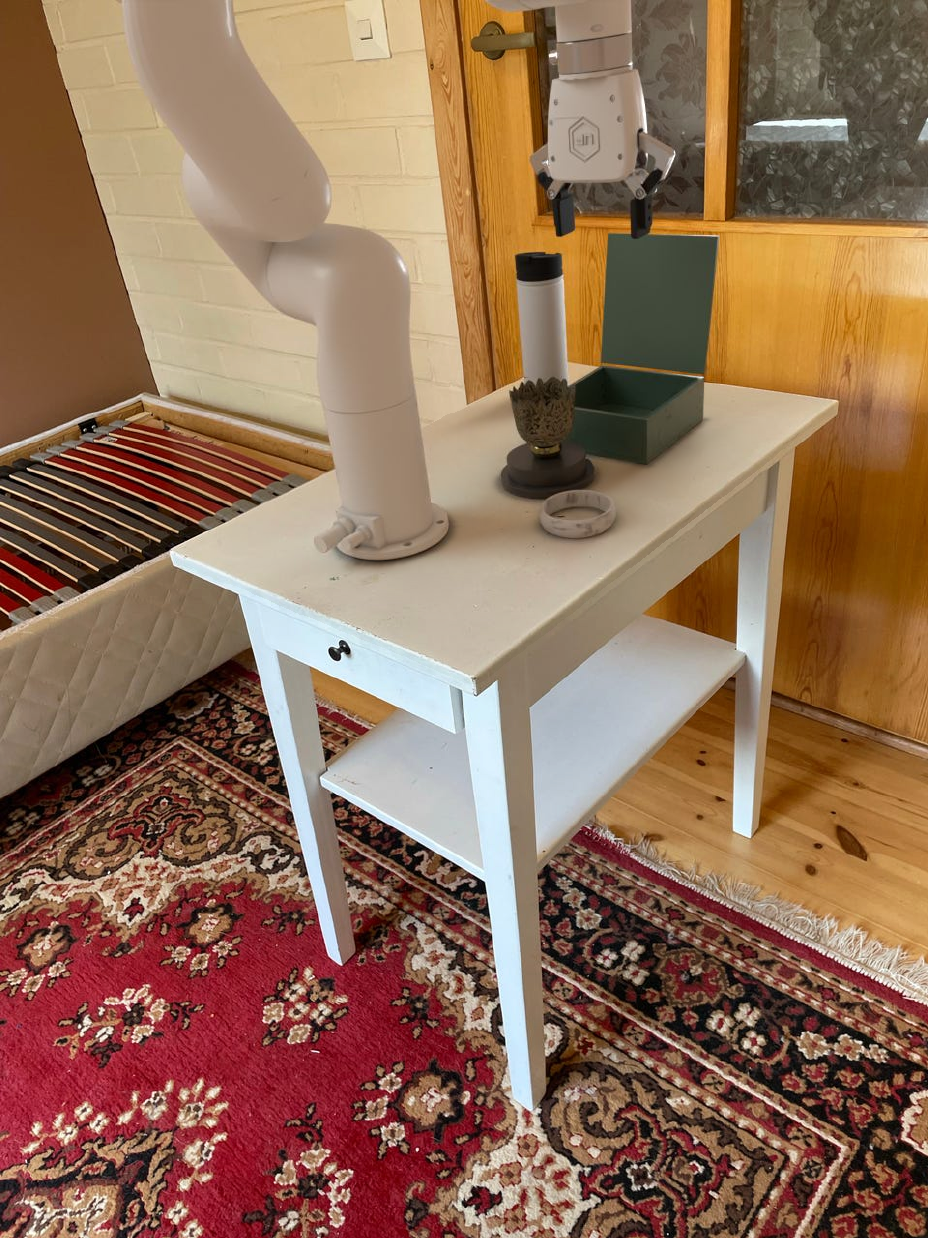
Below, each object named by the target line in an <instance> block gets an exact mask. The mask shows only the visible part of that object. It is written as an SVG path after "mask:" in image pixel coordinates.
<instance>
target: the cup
mask: <svg viewBox="0 0 928 1238" xmlns="http://www.w3.org/2000/svg"><path fill="white" fill-rule="evenodd" d="M544 383H545V384H544ZM544 383H543V381H542V379H540V378H538V380H537V383H536V385H535V384H534V383H533V382H532V381H530V380H528V381H527V382H526V383H525V384H524V381H521V382H520V384H519V387H518V389H517V388H516V386H515V385H513V387H512V390H510V389H509V390H508V394H509V395H508V396H509V399H510V404H511V409H512V414H513V418H514V423H515V426H516V430H517V433H518V434H519V436H520V438H521V439H522V440H523V441H524V442H525V443H528V444H530V445H531V447H530V450H531V453H532V454H533V455H534V456H535V457H537V458H542V459H547V458H553V457H555V456H557V455H559V454H560V452H561V450H562V444H561V442H562V441H564V440H565V439H566V438H567V437H568V435H569V434H570V432H571V429H572V425H573V419H574V407H575V391H576V387H575V383H574V382H573V383H574V384H573V383H571V384H572V389H571V387H569V386H568V385H567V380H566V379H563V380H562V381H561V382H560V380H559V379H557V378H555V377H551V378H550V379H549V380H548V381H547V382H544ZM535 386H536V387H535Z"/></svg>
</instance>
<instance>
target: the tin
mask: <svg viewBox="0 0 928 1238" xmlns="http://www.w3.org/2000/svg"><path fill="white" fill-rule="evenodd" d="M574 383H575V387H576V391H575V407H574V419H573V425H572V429H571V432H570V434H569V435H568V437H567V438H566V439H565V440H567V441H572V442H575V443H578V444H580V445H581V446H582V447H583V448H584V449H585V451H586V455H592V456H596V457H601V458H602V457H603V458H607V459H608V458H609V459H612V460H613V459H614V460H619V461H625V462H629V463H636V464H641V465H648V464H650V463H651V462H652V461H654V460H655V459H656V458H657V457H658V456H660V455H661V454H662V453H663V452H665V451H666V450H667V449H668V448H670V447H671V446H672V445H673V444H675V443H676V442H677V441H678V440H680V439H681V438H682V437H683V436H685V435H686V434H687V433H688V432H689V431H691V430H692V429H693V428H695V427H696V426H697V425H698V424H700V423H701V422H702V421H703V420H704V401H705V377H704V376H697V375H688V374H680V373H673V372H663V371H655V370H646V369H637V368H629V367H620V366H612V365H603V364H602V365H600V366H597V368H595V369H593V370H592V371H590V372H588V373H587V374H585V375H584V376H582V377H580V378H579V379H577V380H575V381H574V382H573V383H571V384H569V387H571V389H572V384H574Z"/></svg>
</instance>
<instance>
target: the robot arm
mask: <svg viewBox="0 0 928 1238" xmlns="http://www.w3.org/2000/svg"><path fill="white" fill-rule="evenodd" d="M115 1H116V2H118V3H120V4H121V10H122V11H121V12H122V21H123V29H124V36H125V41H126V46H127V51H128V54H129V59H130V62H131V65H132V68H133V72H134V74H135V77H136V78H137V81H138V83H139V85H140V87H141V89H142V91H143V93H144V94H145V96H146V98H147V100H148V102H149V103H150V104H151V106H152V107H153V108H154V110H155V112H156V114H158V116H159V117H160V119H161V120H162V122H163V123H164V124H165V125H166V127H167V128H168V130H169V131H170V132H171V133H172V135H173V136H174V138H175V139H176V141H177V142H178V143H179V145H180V146H181V147H182V149H183V150H184V152H185V153H184V154H183V155H184V156H183V160H182V165H181V180H182V188H183V191H184V194H185V198H186V200H187V203H188V205H189V207H190V209H191V211H192V213H193V214H194V216H195V218H196V219H197V221H198V222H199V224H200V225H201V226H202V227H203V229H204V230H205V231H206V233H207V234H208V235H209V236H210V237H211V238H212V240H213V241H214V242H215V244H217V245H218V247H219V248H220V249H221V251H222V252H223V253H224V254H225V255H226V256H227V257H228V259H230V261H231V262H232V264H234V265H235V266H236V268H237V269H238V270H239V271H240V272H241V274H242V275H243V276H244V278H246V279H247V281H248V282H249V283H250V284H251V286H253V288H254V289H255V290H256V291H257V292H258V293H259V294H260V296H262V297H263V298H264V300H266V301H267V302H268V303H269V305H271V306H272V307H273V308H274V309H276V310H277V311H278V312H280V313H282V315H284V316H285V315H286V316H287V317H289V318H292V319H295V320H297V321H301V322H304V323H306V324H311V325H312V326H314V327H316V328H317V334H318V335H317V337H318V338H317V339H318V340H317V353H316V380H317V387H318V393H319V397H320V402H321V403H320V404H321V406H322V410H323V411H322V412H323V415H324V421H325V425H326V431H327V436H328V440H329V446H330V451H331V456H332V461H333V466H334V471H335V476H336V481H337V486H338V491H339V496H340V501H341V505H342V506H339V507H338V508H336V509H335V514H336V520H335V521H334V522H333V524H332V527H330V528H328V529H326V530H324V531H322V532H321V533H320V534H319V533H318V534H317V535H316V536H315V537H313V544H314V547H315V548H316V550H317V551H318V552H319V553H322V554H325V553H328V552H329V551H331V550H332V549H334V548H335V547H337V549H338V550H339V551H340V552H341V553H343V554H344V555H347V556H349V557H351V558H356V559H359V560H365V561H385V560H386V561H387V560H395V559H402V558H406V557H409V556H410V557H411V556H413V555H416V554H419V553H421V552H424V551H426V550H428V549H429V548H432V547H433V546H435V545H437V543H439V542H440V541H441V540H442V539H443V538H444V537H445V536H446V534H447V533H448V532H449V527H450V523H449V516H448V514H447V512H446V510H444V508H442V507H441V506H440V505H438V504H436V503H433V502H432V498H431V497H432V496H431V489H430V483H429V477H428V469H427V463H426V454H425V447H424V440H423V434H422V427H421V419H420V413H419V405H418V399H417V392H416V387H415V386H416V385H415V380H414V379H415V378H414V371H413V363H412V353H411V342H410V339H411V338H410V320H411V319H410V318H411V317H410V316H411V280H410V274H409V270H408V267H407V266H406V262H405V260H404V259H403V256H402V255H401V253H400V252H399V251H398V249H397V248H396V247H395V246H394V245H393V244H392V242H390V241H389V240H388V239H386V238H385V237H384V236H383V235H380V234H378V233H376V232H374V231H372V230H369V229H366V228H362V227H359V226H353V225H346V224H339V223H329V222H328V223H327V222H325V221H326V220H327V218H328V216H329V214H330V210H331V207H332V188H331V183H330V178H329V175H328V173H327V171H326V169H325V167H324V164H323V163H322V161H321V160H320V158H319V156H318V155H317V153H316V151H315V150H314V148H313V147H312V146H311V144H310V143H309V142H308V140H307V139H306V138H305V136H304V135H303V133H302V132H301V131H300V129H299V128H298V127H297V125H296V123H294V121H293V120H292V118H291V117H290V115H289V114H288V113H287V111H286V110H285V109H284V107H283V106H282V104H281V103H280V101H279V100H278V99H277V97H276V96H275V95H274V93H273V92H272V91H271V89H270V87H269V86H268V85H267V82H265V81H264V79H263V77H262V75H261V74H260V72H259V71H258V69H257V68H256V66H255V64H254V63H253V62H252V60H251V58H250V56H249V54H248V52H247V51H246V49H245V47H244V45H243V42H242V39H241V38H240V34H239V31H238V27H237V23H236V18H235V12H234V0H115ZM484 2H486V3H487V4H488V5H490V6H492V7H494V8H496V9H498V10H500V11H503V12H512V13H514V12H516V13H517V12H526V11H527V12H528V11H535V10H540V9H544V8H545V9H546V8H552V7H554V13H555V14H554V15H555V30H556V31H555V32H556V42H557V43H556V44H555V45H556V47H555V49H552V50H550V51H549V53H548V61H549V64H550V65H551V66H555V65H556V66H557V73H558V77H557V78H554V79H552V80H551V86H550V93H549V103H548V115H547V116H548V119H547V143H545V144H544V145H543V146H542V147H540V148H539V149H537V150H536V151H535V152H533V153H532V154H530V156H529V162H530V165H531V167H532V169H533V171H534V173H535V175H537V177H536V179H537V182H538V183H539V185H541V187H542V188H543V189H544V191H545V192H546V196H547V198H548V199H549V200H551V203H552V218H553V219H552V220H553V226H554V230H555V236H556V237H557V238H562V237H564V236H566V235H568V234H571V233H573V232H574V231H575V230H576V218H575V216H576V215H575V199H574V195H573V193H569V191H570V190H571V188H572V187H573V185H574V184H592V183H593V184H596V183H597V184H599V183H601V184H603V183H618V182H622V181H623V182H624V183H625V184H626V186H627V187H628V189H629V190H630V191H631V192H632V194H633V195H634V198H632V199H631V200H630V202H629V210H630V211H629V212H630V213H629V214H630V216H629V217H630V234H631V237H632V238H633V239H639V238H641V237H643V236H645V235H647V234H650V233H651V228H652V226H653V195H654V194H656V192H657V190H658V188H659V187H660V186H661V184H662V183H663V182H664V181H665V180H666V179H667V176H668V172H669V170H670V168H671V166H672V164H673V161H674V158H675V156H676V151H675V149H674V148H673V147H671V146H669V145H667V144H665V143H664V142H662V141H660V140H659V139H657V138H656V137H653V136H652V135H650V134H649V133H648V126H647V114H646V105H645V99H644V92H643V88H642V87H643V86H642V83H641V77H640V73H639V70H638V69H637V68H636V69H635V68H633V67H634V66H633V34H632V32H633V28H632V27H633V26H632V0H484ZM648 156H651V157H652V158H654V166H653V170H652V171H650V173H649V172H648V171H647V166H648V159H649V157H648Z"/></svg>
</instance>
